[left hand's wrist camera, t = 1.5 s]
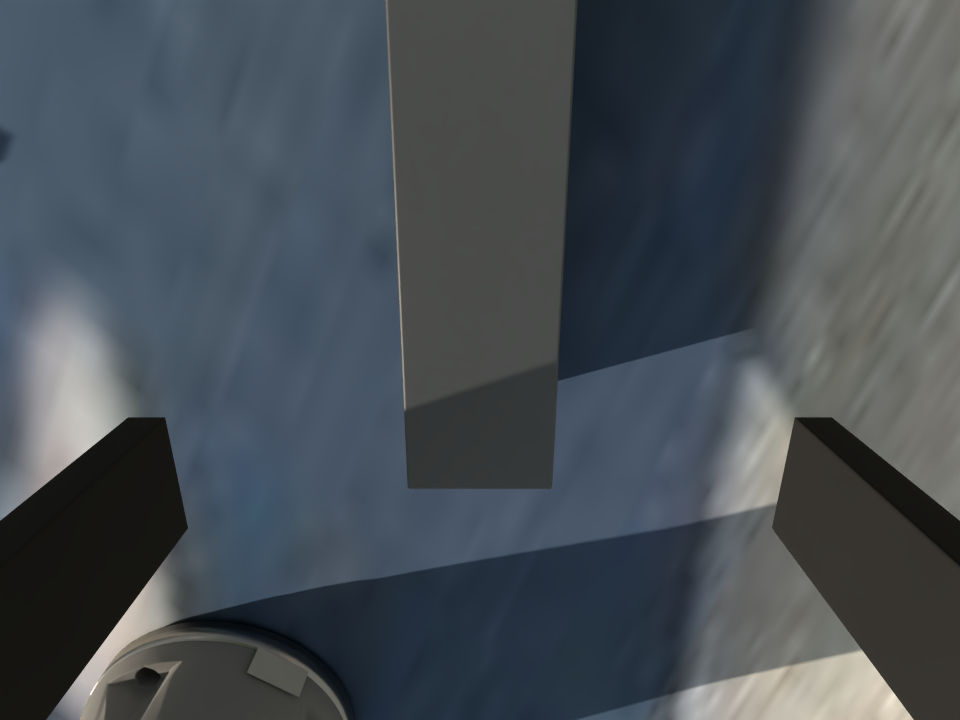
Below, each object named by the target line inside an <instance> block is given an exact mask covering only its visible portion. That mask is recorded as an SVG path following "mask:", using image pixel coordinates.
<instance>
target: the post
mask: <svg viewBox="0 0 960 720" xmlns="http://www.w3.org/2000/svg"><path fill="white" fill-rule="evenodd" d="M385 1H386V22H387V44H388V66H389V88H390V110H391V132H392V153H393V175H394V197H395V219H396V241H397V263H398V284H399V306H400V328H401V350H402V372H403V394H404V415H405V437H406V459H407V481H408V488H410V489H551V488H552V478H553V459H554V441H555V422H556V403H557V384H558V365H559V346H560V327H561V308H562V289H563V270H564V251H565V233H566V214H567V195H568V176H569V157H570V138H571V119H572V100H573V81H574V62H575V43H576V25H577V6H578V0H385Z"/></svg>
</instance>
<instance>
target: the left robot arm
mask: <svg viewBox="0 0 960 720" xmlns="http://www.w3.org/2000/svg"><path fill="white" fill-rule="evenodd" d="M187 529H188V526H187V521H186V517H185V512H184V507H183V502H182V497H181V492H180V488H179V483H178V478H177V473H176V468H175V463H174V459H173V454H172V449H171V444H170V439H169V434H168V429H167V425H166V420H165V418H127V419H126V420H125V421H123V422H122V423H121V424H120V425H118V426H117V427H116V428H115V429H113V430H112V431H111V432H110V433H108V434H107V435H106V436H105V437H104V438H102V439H101V440H100V441H99V442H97V443H96V444H95V445H94V446H92V447H91V448H90V449H89V450H87V451H86V452H85V453H84V454H82V455H81V456H80V457H79V458H78V459H76V460H75V461H74V462H73V463H71V464H70V465H69V466H68V467H66V468H65V469H64V470H63V471H61V472H60V473H59V474H58V475H56V476H55V477H54V478H53V479H52V480H50V481H49V482H48V483H47V484H45V485H44V486H43V487H42V488H40V489H39V490H38V491H37V492H35V493H34V494H33V495H32V496H30V497H29V498H28V499H27V500H26V501H24V502H23V503H22V504H21V505H19V506H18V507H17V508H16V509H14V510H13V511H12V512H11V513H9V514H8V515H7V516H6V517H4V518H3V519H2V520H1V521H0V720H46V719H47V718H48V716H49V715H50V714H51V712H52V711H53V710H54V708H55V707H56V706H57V704H58V703H59V702H60V700H61V699H62V698H63V696H64V695H65V693H66V692H67V691H68V689H69V688H70V687H71V685H72V684H73V683H74V681H75V680H76V679H77V677H78V676H79V675H80V673H81V672H82V670H83V669H84V668H85V666H86V665H87V664H88V662H89V661H90V660H91V658H92V657H93V656H94V654H95V653H96V652H97V650H98V649H99V648H100V646H101V645H102V643H103V642H104V641H105V639H106V638H107V637H108V635H109V634H110V633H111V631H112V630H113V629H114V627H115V626H116V625H117V623H118V622H119V621H120V619H121V618H122V616H123V615H124V614H125V612H126V611H127V610H128V608H129V607H130V606H131V604H132V603H133V602H134V600H135V599H136V598H137V596H138V595H139V593H140V592H141V591H142V589H143V588H144V587H145V585H146V584H147V583H148V581H149V580H150V579H151V577H152V576H153V575H154V573H155V572H156V571H157V569H158V568H159V566H160V565H161V564H162V562H163V561H164V560H165V558H166V557H167V556H168V554H169V553H170V552H171V550H172V549H173V548H174V546H175V545H176V544H177V542H178V541H179V539H180V538H181V537H182V535H183V534H184V533H185V531H186V530H187ZM772 529H773V530H774V531H775V533H776V534H777V535H778V537H779V538H780V539H781V541H782V542H783V544H784V545H785V546H786V548H787V549H788V550H789V552H790V553H791V554H792V556H793V557H794V558H795V560H796V561H797V562H798V564H799V565H800V566H801V568H802V569H803V571H804V572H805V573H806V575H807V576H808V577H809V579H810V580H811V581H812V583H813V584H814V585H815V587H816V588H817V589H818V591H819V592H820V593H821V595H822V596H823V598H824V599H825V600H826V602H827V603H828V604H829V606H830V607H831V608H832V610H833V611H834V612H835V614H836V615H837V616H838V618H839V619H840V621H841V622H842V623H843V625H844V626H845V627H846V629H847V630H848V631H849V633H850V634H851V635H852V637H853V638H854V639H855V641H856V642H857V643H858V645H859V646H860V648H861V649H862V650H863V652H864V653H865V654H866V656H867V657H868V658H869V660H870V661H871V662H872V664H873V665H874V666H875V668H876V669H877V670H878V672H879V673H880V675H881V676H882V677H883V679H884V680H885V681H886V683H887V684H888V685H889V687H890V688H891V689H892V691H893V692H894V693H895V695H896V696H897V698H898V699H899V700H900V702H901V703H902V704H903V706H904V707H905V708H906V710H907V711H908V712H909V714H910V715H911V716H912V718H913V719H914V720H960V521H959V520H958V519H957V518H956V517H954V516H953V515H952V514H951V513H949V512H948V511H947V510H946V509H944V508H943V507H942V506H941V505H939V504H938V503H937V502H936V501H934V500H933V499H932V498H931V497H930V496H928V495H927V494H926V493H925V492H923V491H922V490H921V489H920V488H918V487H917V486H916V485H915V484H913V483H912V482H911V481H910V480H908V479H907V478H906V477H905V476H904V475H902V474H901V473H900V472H899V471H897V470H896V469H895V468H894V467H892V466H891V465H890V464H889V463H887V462H886V461H885V460H884V459H882V458H881V457H880V456H879V455H878V454H876V453H875V452H874V451H873V450H871V449H870V448H869V447H868V446H866V445H865V444H864V443H863V442H861V441H860V440H859V439H858V438H856V437H855V436H854V435H853V434H852V433H850V432H849V431H848V430H847V429H845V428H844V427H843V426H842V425H840V424H839V423H838V422H837V421H835V420H834V419H833V418H795V420H794V425H793V429H792V434H791V439H790V444H789V449H788V454H787V459H786V463H785V468H784V473H783V478H782V483H781V488H780V492H779V497H778V502H777V507H776V512H775V517H774V521H773V526H772ZM80 720H354V715H353V710H352V706H351V703H350V700H349V698H348V696H347V693H346V692H345V690H344V688H343V686H342V685H341V683H340V682H339V680H338V679H337V678H336V676H335V675H334V674H333V673H332V672H331V670H330V669H329V668H328V667H327V666H326V665H325V664H324V663H322V662H321V661H320V660H319V659H318V658H317V657H315V656H314V655H313V654H312V653H310V652H309V651H307V650H306V649H304V648H303V647H301V646H299V645H298V644H296V643H294V642H292V641H290V640H288V639H286V638H284V637H282V636H280V635H277V634H275V633H272V632H269V631H266V630H263V629H260V628H256V627H253V626H248V625H244V624H239V623H231V622H221V621H196V622H186V623H180V624H174V625H170V626H167V627H163V628H160V629H157V630H154V631H152V632H149V633H147V634H145V635H143V636H141V637H139V638H138V639H136V640H135V641H133V642H131V643H130V644H129V645H127V646H126V647H125V648H124V649H122V651H121V652H120V653H119V654H118V655H117V656H116V657H115V658H114V659H113V661H112V662H111V663H110V665H109V666H108V667H107V669H106V670H105V672H104V673H103V675H102V676H101V678H100V679H99V680H98V682H97V683H96V685H95V687H94V689H93V690H92V692H91V695H90V697H89V699H88V701H87V703H86V705H85V707H84V709H83V712H82V715H81V718H80Z"/></svg>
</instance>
